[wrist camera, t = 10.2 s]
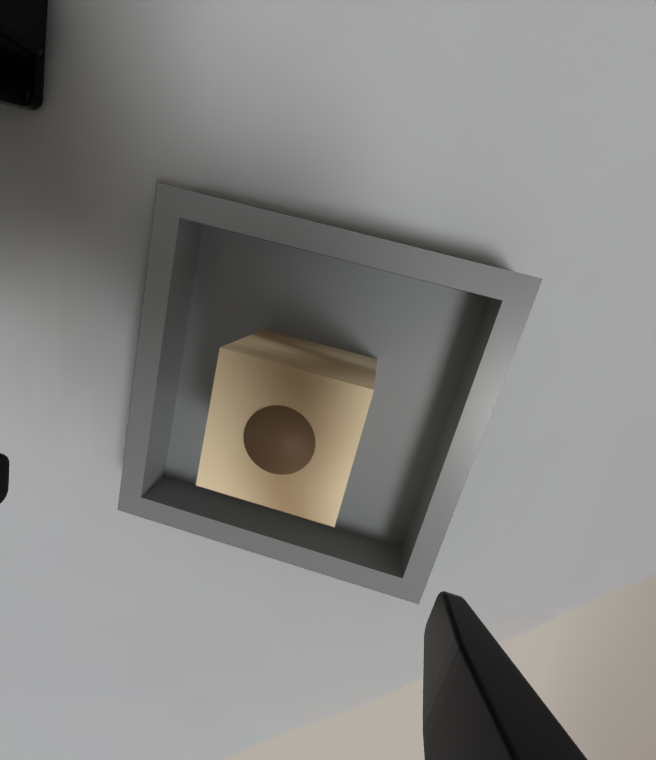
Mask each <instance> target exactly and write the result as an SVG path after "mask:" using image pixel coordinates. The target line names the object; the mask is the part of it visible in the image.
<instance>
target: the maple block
mask: <svg viewBox="0 0 656 760" xmlns="http://www.w3.org/2000/svg"><path fill="white" fill-rule="evenodd" d="M376 368H377V359H376V358H372V357H368V356H364V355H361V354H357V353H353V352H350V351H346V350H342V349H339V348H335V347H331V346H327V345H324V344H320V343H316V342H313V341H309V340H305V339H301V338H298V337H294V336H290V335H287V334H283V333H279V332H275V331H272V330H268V329H263V330H261V331H258V332H256V333H254V334H251V335H249V336H246V337H244V338H242V339H239V340H237V341H234V342H232V343H229V344H227V345H225V346H222V347H220V349H219V355H218V361H217V366H216V372H215V378H214V383H213V389H212V395H211V400H210V406H209V412H208V418H207V423H206V429H205V435H204V440H203V446H202V452H201V458H200V463H199V469H198V475H197V480H196V486H200V487H203V488H206V489H210V490H213V491H216V492H220V493H223V494H226V495H229V496H233V497H236V498H239V499H243V500H246V501H249V502H253V503H256V504H259V505H263V506H266V507H269V508H273V509H276V510H279V511H282V512H286V513H289V514H292V515H296V516H299V517H302V518H306V519H309V520H312V521H316V522H319V523H322V524H325V525H329V526H332V527H335V524H336V520H337V517H338V513H339V510H340V506H341V503H342V500H343V496H344V493H345V489H346V486H347V482H348V479H349V475H350V472H351V468H352V465H353V461H354V458H355V455H356V451H357V448H358V444H359V441H360V437H361V434H362V430H363V427H364V423H365V420H366V416H367V413H368V410H369V406H370V403H371V399H372V396H373V392H374V387H375V377H376Z"/></svg>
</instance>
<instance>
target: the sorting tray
mask: <svg viewBox="0 0 656 760" xmlns="http://www.w3.org/2000/svg"><path fill="white" fill-rule="evenodd" d="M541 281H542V279H541V278H537V277H533V276H529V275H525V274H521V273H517V272H513V271H509V270H505V269H501V268H497V267H493V266H489V265H485V264H481V263H477V262H473V261H469V260H465V259H461V258H457V257H453V256H449V255H445V254H441V253H437V252H433V251H429V250H425V249H421V248H417V247H413V246H409V245H405V244H401V243H397V242H393V241H389V240H385V239H381V238H377V237H373V236H369V235H365V234H361V233H357V232H353V231H349V230H345V229H341V228H337V227H333V226H329V225H325V224H321V223H317V222H313V221H309V220H305V219H301V218H297V217H293V216H289V215H285V214H281V213H277V212H273V211H269V210H265V209H261V208H257V207H254V206H250V205H246V204H242V203H238V202H234V201H230V200H226V199H222V198H218V197H214V196H210V195H206V194H202V193H198V192H194V191H190V190H186V189H182V188H178V187H174V186H170V185H166V184H162V183H158V182H157V190H156V198H155V206H154V215H153V223H152V231H151V239H150V248H149V256H148V264H147V272H146V281H145V289H144V297H143V305H142V314H141V322H140V330H139V338H138V347H137V355H136V363H135V371H134V380H133V388H132V396H131V404H130V413H129V421H128V429H127V437H126V446H125V454H124V462H123V470H122V479H121V487H120V495H119V503H118V510H120V511H123V512H126V513H129V514H133V515H136V516H139V517H142V518H145V519H148V520H152V521H155V522H158V523H161V524H164V525H168V526H171V527H174V528H177V529H180V530H184V531H187V532H190V533H193V534H196V535H200V536H203V537H206V538H209V539H212V540H215V541H219V542H222V543H225V544H228V545H231V546H235V547H238V548H241V549H244V550H247V551H251V552H254V553H257V554H260V555H263V556H267V557H270V558H273V559H276V560H279V561H282V562H286V563H289V564H292V565H295V566H298V567H302V568H305V569H308V570H311V571H314V572H318V573H321V574H324V575H327V576H330V577H333V578H337V579H340V580H343V581H346V582H349V583H353V584H356V585H359V586H362V587H365V588H369V589H372V590H375V591H378V592H381V593H385V594H388V595H391V596H394V597H397V598H400V599H404V600H407V601H410V602H413V603H416V604H419V602H420V599H421V597H422V594H423V592H424V589H425V586H426V584H427V581H428V578H429V576H430V573H431V571H432V568H433V565H434V563H435V560H436V557H437V555H438V552H439V549H440V547H441V544H442V542H443V539H444V536H445V534H446V531H447V528H448V526H449V523H450V521H451V518H452V515H453V513H454V510H455V507H456V505H457V502H458V500H459V497H460V494H461V492H462V489H463V486H464V484H465V481H466V479H467V476H468V473H469V471H470V468H471V465H472V463H473V460H474V457H475V455H476V452H477V450H478V447H479V444H480V442H481V439H482V436H483V434H484V431H485V429H486V426H487V423H488V421H489V418H490V415H491V413H492V410H493V408H494V405H495V402H496V400H497V397H498V394H499V392H500V389H501V386H502V384H503V381H504V379H505V376H506V373H507V371H508V368H509V365H510V363H511V360H512V358H513V355H514V352H515V350H516V347H517V344H518V342H519V339H520V337H521V334H522V331H523V329H524V326H525V323H526V321H527V318H528V316H529V313H530V310H531V308H532V305H533V302H534V300H535V297H536V294H537V292H538V289H539V287H540V284H541ZM263 329H268V330H272V331H275V332H279V333H283V334H287V335H290V336H294V337H298V338H301V339H305V340H309V341H313V342H316V343H320V344H324V345H327V346H331V347H335V348H339V349H342V350H346V351H350V352H353V353H357V354H361V355H364V356H368V357H372V358H376V359H377V368H376V377H375V387H374V392H373V396H372V399H371V403H370V406H369V410H368V413H367V416H366V420H365V423H364V427H363V430H362V434H361V437H360V441H359V444H358V448H357V451H356V455H355V458H354V461H353V465H352V468H351V472H350V475H349V479H348V482H347V486H346V489H345V493H344V496H343V500H342V503H341V506H340V510H339V513H338V517H337V520H336V524H335V527H332V526H329V525H325V524H322V523H319V522H316V521H312V520H309V519H306V518H302V517H299V516H296V515H292V514H289V513H286V512H282V511H279V510H276V509H273V508H269V507H266V506H263V505H259V504H256V503H253V502H249V501H246V500H243V499H239V498H236V497H233V496H229V495H226V494H223V493H220V492H216V491H213V490H210V489H206V488H203V487H200V486H196V480H197V475H198V469H199V463H200V458H201V452H202V446H203V440H204V435H205V429H206V423H207V418H208V412H209V406H210V400H211V395H212V389H213V383H214V378H215V372H216V366H217V361H218V355H219V349H220V347H222V346H225V345H227V344H229V343H232V342H234V341H237V340H239V339H242V338H244V337H246V336H249V335H251V334H254V333H256V332H258V331H261V330H263Z"/></svg>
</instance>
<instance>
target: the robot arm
mask: <svg viewBox="0 0 656 760" xmlns="http://www.w3.org/2000/svg"><path fill="white" fill-rule="evenodd" d="M46 17H47V0H0V103H4V104H8V105H12V106H16V107H20V108H25V109H29V110H36V109H38V108H39V107H40V106H41V104H42V100H43V80H44V59H45V38H46ZM28 90H29V96H28V98H27V99H26V93H27V91H28ZM8 484H9V459H8V457H7V456H5V455H4V454H1V453H0V503H1V502H2V501H3V500H4V499H5V497H6V495H7V492H8ZM423 739H424V753H425V760H587V758H586V757H585V756H584V754H583V753H582V752H581V751H580V749H579V748H578V747H577V745H576V744H575V743H574V741H573V740H572V739H571V737H570V736H569V735H568V734H567V732H566V731H565V730H564V728H563V727H562V726H561V724H560V723H559V722H558V721H557V719H556V718H555V717H554V715H553V714H552V713H551V711H550V710H549V709H548V708H547V706H546V705H545V704H544V703H543V701H542V700H541V698H540V697H539V696H538V695H537V693H536V692H535V691H534V689H533V688H532V687H531V686H530V684H529V683H528V682H527V680H526V679H525V678H524V676H523V675H522V674H521V672H520V671H519V670H518V669H517V667H516V666H515V665H514V663H513V662H512V661H511V659H510V658H509V657H508V655H507V654H506V653H505V652H504V650H503V649H502V648H501V646H500V645H499V644H498V642H497V641H496V640H495V638H494V637H493V636H492V635H491V633H490V632H489V631H488V629H487V628H486V627H485V625H484V624H483V623H482V622H481V620H480V619H479V618H478V616H477V615H476V614H475V612H474V611H473V610H472V609H471V607H470V606H469V605H468V603H467V602H466V601H465V600H464V599H463V598H462V597H460V596H458V595H454V594H451V593H448V592H445V591H443V592H440V593H439V595H438V596H437V599H436V601H435V604H434V606H433V609H432V611H431V614H430V616H429V619H428V622H427V624H426V628H425V634H424V677H423Z"/></svg>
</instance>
